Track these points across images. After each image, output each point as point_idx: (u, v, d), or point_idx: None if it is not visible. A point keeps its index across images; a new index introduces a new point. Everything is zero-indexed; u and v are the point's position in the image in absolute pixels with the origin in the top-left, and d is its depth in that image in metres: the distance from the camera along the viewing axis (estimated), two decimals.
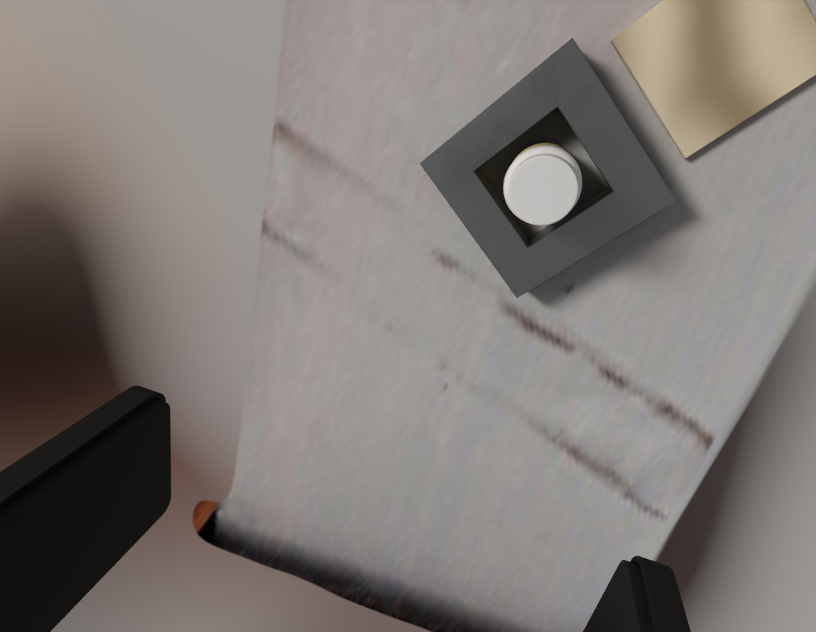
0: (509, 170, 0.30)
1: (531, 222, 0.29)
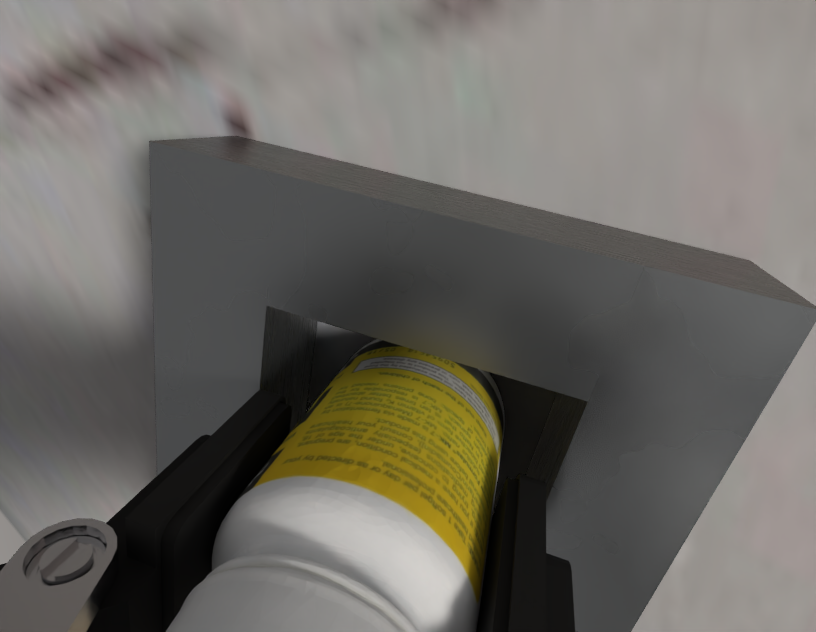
0: (464, 613, 0.07)
1: None
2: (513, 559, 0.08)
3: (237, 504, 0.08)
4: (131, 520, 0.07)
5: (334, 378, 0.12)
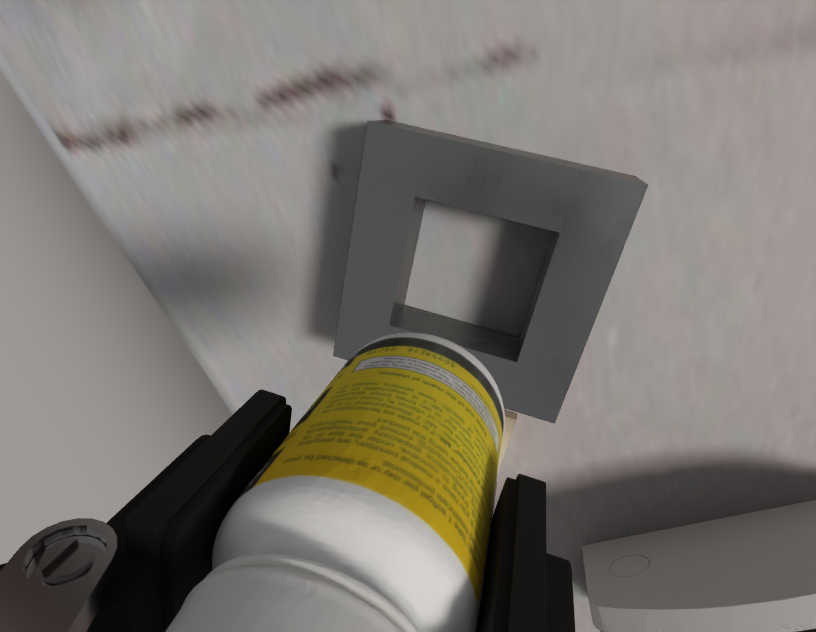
0: (465, 613, 0.07)
1: None
2: (513, 559, 0.08)
3: (237, 503, 0.08)
4: (131, 520, 0.07)
5: (334, 378, 0.12)
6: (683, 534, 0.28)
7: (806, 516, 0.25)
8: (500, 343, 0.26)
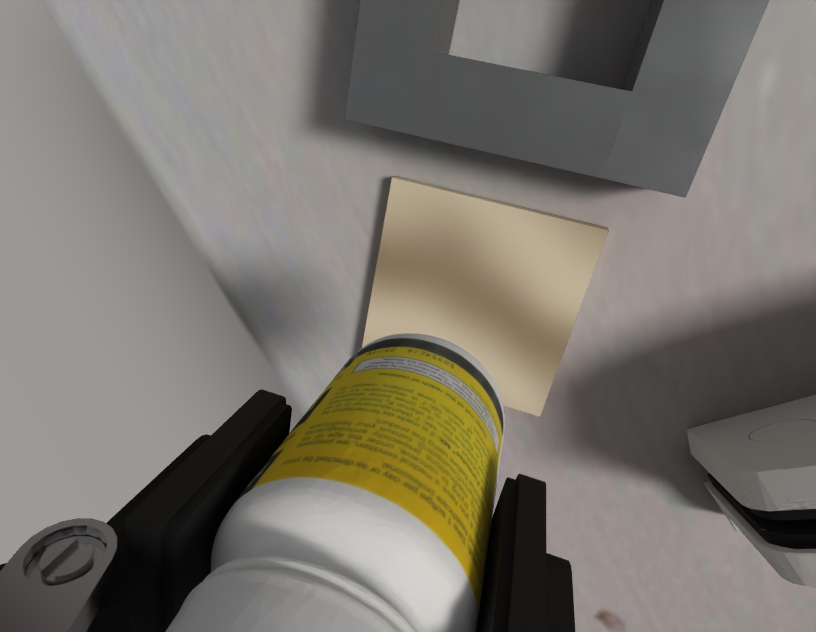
0: (464, 615, 0.07)
1: None
2: (513, 559, 0.08)
3: (236, 505, 0.08)
4: (131, 520, 0.07)
5: (334, 378, 0.12)
6: None
7: None
8: None
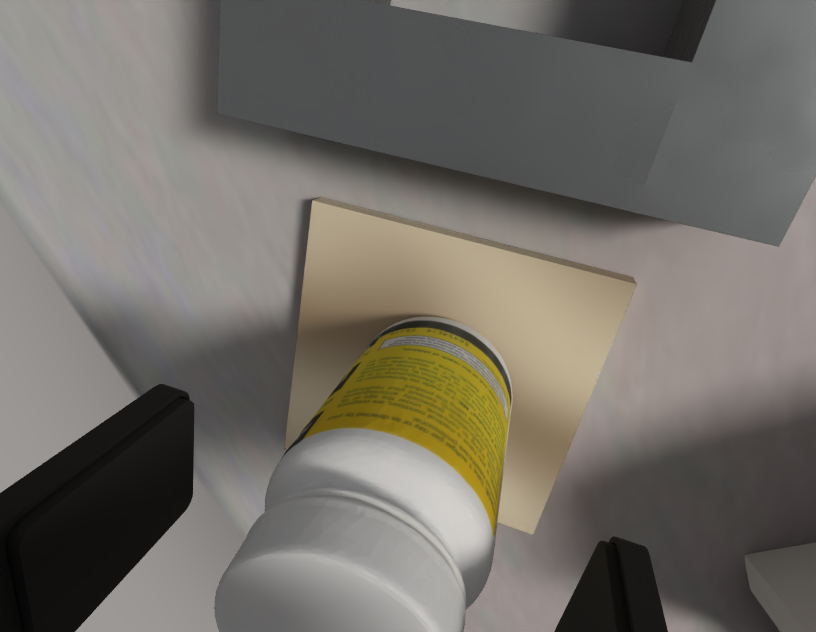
0: (483, 542, 0.09)
1: (265, 561, 0.07)
2: None
3: (289, 453, 0.09)
4: None
5: (360, 356, 0.13)
6: None
7: None
8: None
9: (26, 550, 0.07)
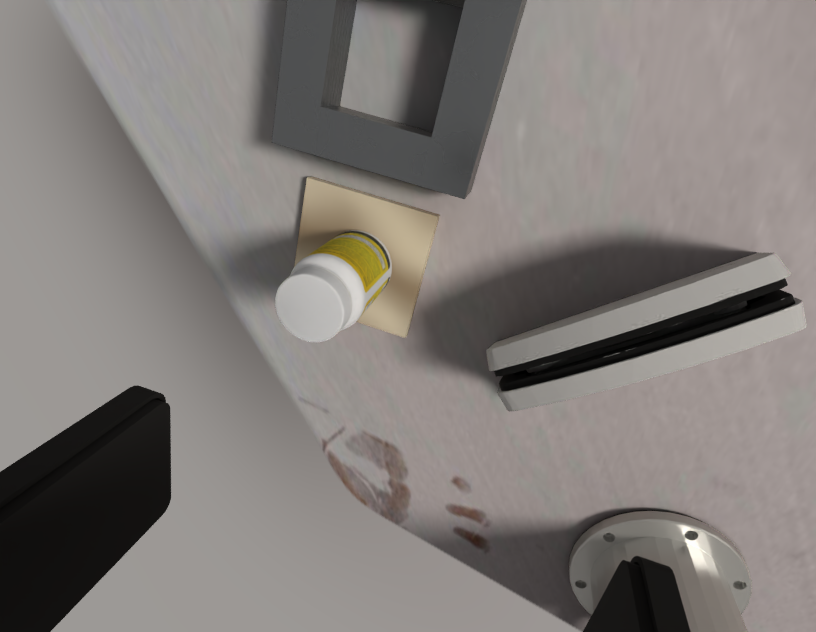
0: (360, 290, 0.27)
1: (292, 278, 0.26)
2: None
3: (297, 263, 0.28)
4: None
5: None
6: (578, 314, 0.31)
7: (678, 280, 0.28)
8: (421, 131, 0.29)
9: None
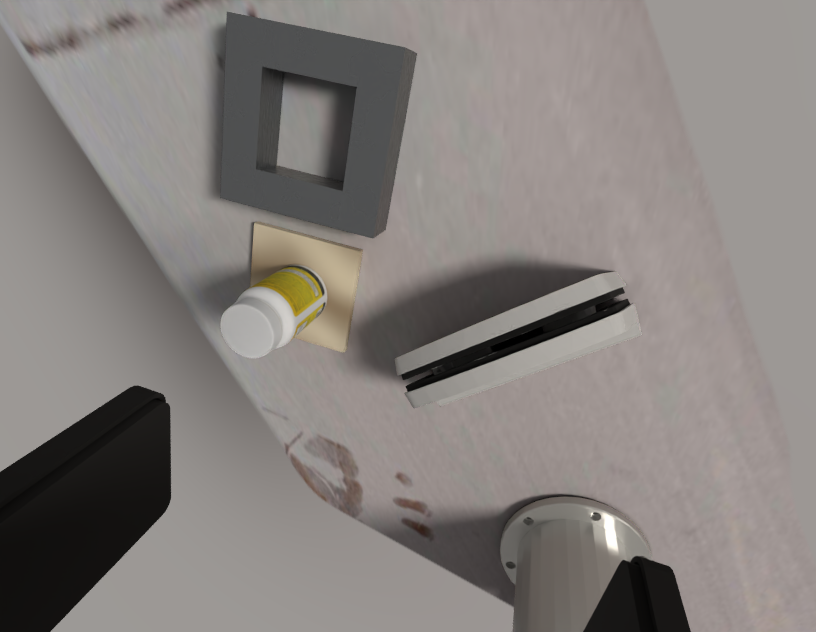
0: (289, 315, 0.34)
1: (231, 308, 0.32)
2: None
3: (240, 295, 0.35)
4: None
5: None
6: None
7: None
8: (338, 185, 0.35)
9: None
